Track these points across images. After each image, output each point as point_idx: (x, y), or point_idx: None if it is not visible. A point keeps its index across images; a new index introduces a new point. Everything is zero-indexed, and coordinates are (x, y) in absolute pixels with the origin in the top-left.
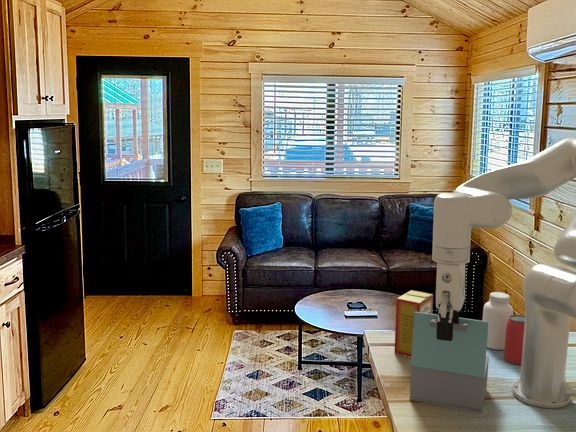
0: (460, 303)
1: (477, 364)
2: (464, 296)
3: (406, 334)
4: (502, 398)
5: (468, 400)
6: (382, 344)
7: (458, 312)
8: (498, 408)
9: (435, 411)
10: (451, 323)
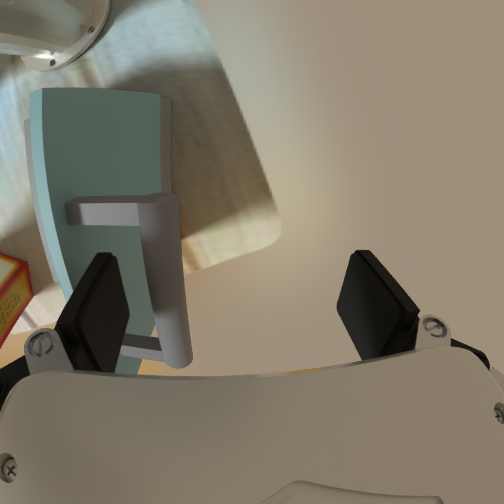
0: (478, 397)
1: (146, 116)
2: (79, 422)
3: (11, 304)
4: (91, 75)
5: (167, 128)
6: (25, 315)
7: (84, 298)
8: (137, 72)
9: (201, 188)
10: (414, 313)
